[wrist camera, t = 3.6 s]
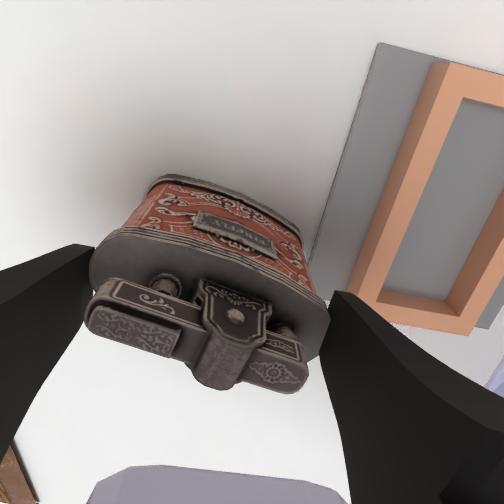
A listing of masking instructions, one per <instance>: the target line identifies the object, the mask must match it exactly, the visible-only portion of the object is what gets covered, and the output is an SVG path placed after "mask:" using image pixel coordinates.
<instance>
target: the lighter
mask: <svg viewBox="0 0 504 504" xmlns="http://www.w3.org/2000/svg"><path fill="white" fill-rule="evenodd" d="M303 246H304V243H303V240H302V237H301V234H300V232H299V229H298V228H297V227H296V226H295V225H294V224H293V223H291V222H290V221H288V220H287V219H285V218H284V217H282V216H281V215H279V214H278V213H276V212H275V211H273V210H272V209H270V208H269V207H267V206H265V205H263V204H261V203H259V202H257V201H255V200H253V199H251V198H249V197H247V196H245V195H243V194H242V193H239V192H237V191H234V190H231V189H228V188H225V187H222V186H219V185H216V184H214V183H211V182H208V181H203V180H199V179H194V178H190V177H185V176H181V175H176V174H166V175H164V176H161V177H159V178H158V179H157V180H155V181H154V182H153V183H152V184H151V185H150V187H149V188H148V190H147V192H146V193H145V195H144V200H143V202H142V203H141V204H140V205H139V206H138V208H137V209H136V210H135V211H134V213H133V214H132V215H131V216H130V218H129V219H128V220H127V221H126V222H125V224H124V225H123V226H122V227H121V228H119V229H116V230H114V231H113V232H112V233H110V234H109V235H108V236H107V237H106V238H105V239H104V240H103V241H102V242H101V243H100V244H99V246H98V247H97V248H96V249H95V251H94V253H93V255H92V257H91V259H90V262H89V279H90V282H91V286H92V288H93V289H94V291H95V292H96V293H95V295H94V296H93V297H92V299H91V300H90V302H89V304H88V306H87V308H86V311H85V315H84V323H85V325H86V327H87V328H88V329H89V331H91V332H92V333H93V334H96V335H98V336H101V337H104V338H107V339H110V340H113V341H116V342H120V343H123V344H126V345H129V346H132V347H135V348H138V349H141V350H145V351H148V352H151V353H154V354H157V355H160V356H163V357H166V358H173V359H176V360H179V361H182V362H184V363H185V365H186V366H187V367H188V368H189V369H190V370H191V371H192V374H193V376H194V377H195V379H196V380H197V381H198V382H200V383H201V384H203V385H204V386H207V387H210V388H213V389H216V390H220V391H221V390H228V389H230V388H232V387H233V386H234V384H237V383H240V382H242V381H244V382H247V383H250V384H254V385H257V386H260V387H263V388H266V389H269V390H272V391H275V392H278V393H283V394H293V393H295V392H297V391H299V390H300V389H301V387H302V386H303V385H304V383H305V382H306V380H307V378H308V376H309V371H308V366H307V362H309V361H310V360H312V359H314V358H315V357H317V356H318V355H319V350H320V347H321V344H322V342H323V339H324V336H325V334H326V331H327V329H328V326H329V323H330V321H331V318H330V315H329V312H328V309H327V307H326V304H325V302H324V301H323V300H322V299H321V298H320V297H319V296H318V295H317V293H316V290H315V288H314V285H313V282H312V279H311V276H310V273H309V270H308V267H307V264H306V261H305V258H304V255H303Z"/></svg>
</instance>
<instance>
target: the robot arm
mask: <svg viewBox="0 0 504 504" xmlns="http://www.w3.org/2000/svg"><path fill="white" fill-rule="evenodd" d="M94 251H95V247H91V246H85V245H80V244H72V245H68V246H65V247H63V248H60V249H57V250H55V251H52V252H50V253H47V254H45V255H42V256H40V257H37V258H34V259H32V260H29V261H27V262H24V263H21V264H19V265H16V266H13V267H10V268H7V269H4V270H1V271H0V464H1V462H2V460H3V458H4V456H5V454H6V452H7V450H8V448H9V446H10V444H11V442H12V440H13V438H14V436H15V434H16V432H17V430H18V428H19V426H20V424H21V422H22V420H23V418H24V417H25V415H26V413H27V411H28V409H29V407H30V405H31V403H32V401H33V399H34V398H35V396H36V394H37V393H38V391H39V389H40V388H41V386H42V384H43V383H44V381H45V380H46V378H47V377H48V375H49V374H50V372H51V371H52V369H53V368H54V366H55V365H56V363H57V362H58V361H59V359H60V358H61V356H62V355H63V353H64V352H65V350H66V349H67V347H68V346H69V344H70V343H71V341H72V340H73V338H74V336H75V335H76V333H77V332H78V330H79V329H80V327H81V325H82V323H83V321H84V315H85V311H86V308H87V306H88V304H89V302H90V300H91V299H92V297H93V288H92V286H91V282H90V279H89V262H90V259H91V257H92V255H93V253H94ZM328 312H329V315H330V318H331V321H330V323H329V326H328V329H327V331H326V334H325V336H324V339H323V342H322V344H321V347H320V350H319V357H320V363H321V367H322V371H323V375H324V378H325V382H326V385H327V389H328V392H329V396H330V399H331V402H332V406H333V409H334V413H335V416H336V420H337V423H338V427H339V431H340V436H341V441H342V446H343V452H344V458H345V463H346V469H347V476H348V483H349V490H350V496H351V503H352V504H504V358H503V359H502V361H501V362H500V364H499V365H498V367H497V368H496V370H495V372H494V373H493V375H492V376H491V378H490V379H489V381H488V382H487V384H486V385H485V387H482V386H481V385H479V384H477V383H475V382H474V381H472V380H470V379H468V378H466V377H465V376H463V375H461V374H460V373H458V372H456V371H455V370H453V369H451V368H450V367H448V366H447V365H445V364H444V363H442V362H441V361H439V360H438V359H436V358H435V357H433V356H432V355H430V354H429V353H427V352H426V351H424V350H423V349H422V348H420V347H419V346H418V345H416V344H415V343H414V342H412V341H411V340H410V339H408V338H407V337H406V336H405V335H403V334H402V333H401V332H400V331H398V330H397V329H396V328H395V327H393V326H392V325H391V324H390V323H389V322H387V321H386V320H385V319H384V318H383V317H382V316H380V315H379V314H378V313H377V312H376V311H374V310H373V309H372V308H371V307H370V306H369V305H367V304H366V303H365V302H364V301H362V300H361V299H360V298H359V297H357V296H356V295H354V294H353V293H350V292H344V291H338V290H335V291H334V293H333V296H332V299H331V301H330V304H329V307H328ZM86 504H347V503H346V501H345V500H344V499H343V498H342V497H341V496H340V495H339V494H338V493H337V492H336V491H334V490H332V489H330V488H327V487H324V486H321V485H318V484H314V483H311V482H308V481H303V480H294V479H285V478H276V477H267V476H258V475H249V474H240V473H231V472H222V471H213V470H204V469H195V468H186V467H177V466H168V465H150V466H133V467H128V468H126V469H124V470H122V471H120V472H118V473H116V474H114V475H112V476H109V477H107V478H105V479H103V480H101V481H99V482H97V484H96V486H95V488H94V490H93V492H92V494H91V495H90V497H89V499H88V501H87V503H86Z"/></svg>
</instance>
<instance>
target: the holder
mask: <svg viewBox="0 0 504 504" xmlns="http://www.w3.org/2000/svg"><path fill="white" fill-rule="evenodd" d="M307 267H308V270H309V273H310V276H311V279H312V282H313V285H314V288H315V290H316V293H317V295H318V296H319V297H320V298H321V299H323V300H329V301H331V299H332V296H333V293H334V291H335V290H338V291H344V292H350V293H353V294H354V295H356V296H357V297H359V298H360V299H361V300H362V301H364V302H365V303H366V304H367V305H369V306H370V307H371V308H372V309H373V310H374V311H376V312H377V313H378V314H379V315H380V316H382V317H383V318H384V319H385V320H386V321H387V322H391V323H397V324H403V325H408V326H414V327H420V328H425V329H431V330H436V331H442V332H448V333H453V334H459V335H465V336H469V334H470V333H471V331H472V329H473V327H478V328H484V329H489V327H490V325H491V324H492V322H493V320H494V319H495V317H496V315H497V314H498V312H499V310H500V309H501V307H502V305H503V304H504V75H502V74H498V73H494V72H491V71H487V70H483V69H479V68H475V67H472V66H468V65H464V64H460V63H457V62H453V61H449V60H445V59H442V58H438V57H434V56H430V55H426V54H423V53H419V52H415V51H411V50H408V49H404V48H400V47H396V46H392V45H389V44H385V43H379V44H378V46H377V49H376V52H375V55H374V58H373V62H372V65H371V68H370V71H369V74H368V77H367V80H366V83H365V87H364V90H363V93H362V96H361V99H360V102H359V105H358V108H357V112H356V115H355V118H354V121H353V124H352V127H351V130H350V134H349V137H348V140H347V143H346V146H345V149H344V152H343V155H342V159H341V162H340V165H339V168H338V171H337V174H336V177H335V180H334V184H333V187H332V190H331V193H330V196H329V199H328V202H327V206H326V209H325V212H324V215H323V218H322V221H321V224H320V227H319V231H318V234H317V237H316V240H315V243H314V246H313V249H312V253H311V256H310V259H309V262H308V265H307Z"/></svg>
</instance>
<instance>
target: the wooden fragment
mask: <svg viewBox="0 0 504 504" xmlns="http://www.w3.org/2000/svg"><path fill="white" fill-rule="evenodd" d="M0 502H3V503H8V504H39V503H36V502H35V500H34V497H33V495H32V493H31V490H30V489H29V487H28V484H27V483H26V480H25V478H24V475H23V473H22V471H21V470H20V466H19V464H18V462H17V459H16V457H15V454H14V452H13V450H12V449H11V446H9V448H8V450H7V452H6V454H5V456H4V458H3V460H2V462H1V464H0Z"/></svg>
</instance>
